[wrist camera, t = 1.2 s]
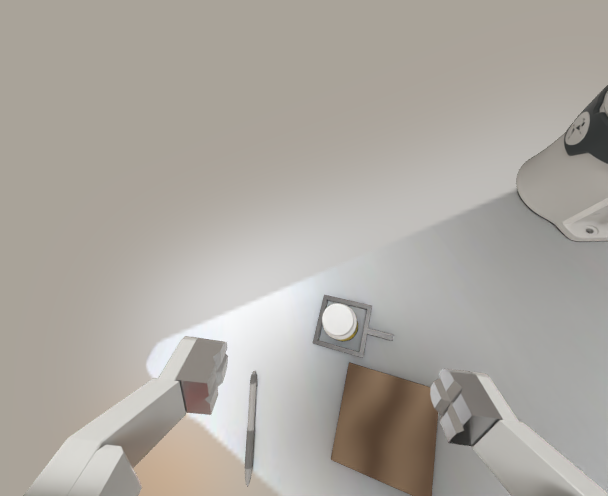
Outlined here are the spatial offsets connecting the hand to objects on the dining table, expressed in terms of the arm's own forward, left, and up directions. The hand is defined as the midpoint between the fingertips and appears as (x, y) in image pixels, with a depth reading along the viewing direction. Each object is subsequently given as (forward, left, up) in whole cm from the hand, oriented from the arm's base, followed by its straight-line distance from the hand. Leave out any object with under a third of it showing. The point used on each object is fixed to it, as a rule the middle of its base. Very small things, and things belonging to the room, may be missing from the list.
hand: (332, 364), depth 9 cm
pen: (+13, +14, -31) cm, 36 cm away
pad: (-5, +8, -30) cm, 32 cm away
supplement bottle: (+3, -3, -31) cm, 31 cm away
